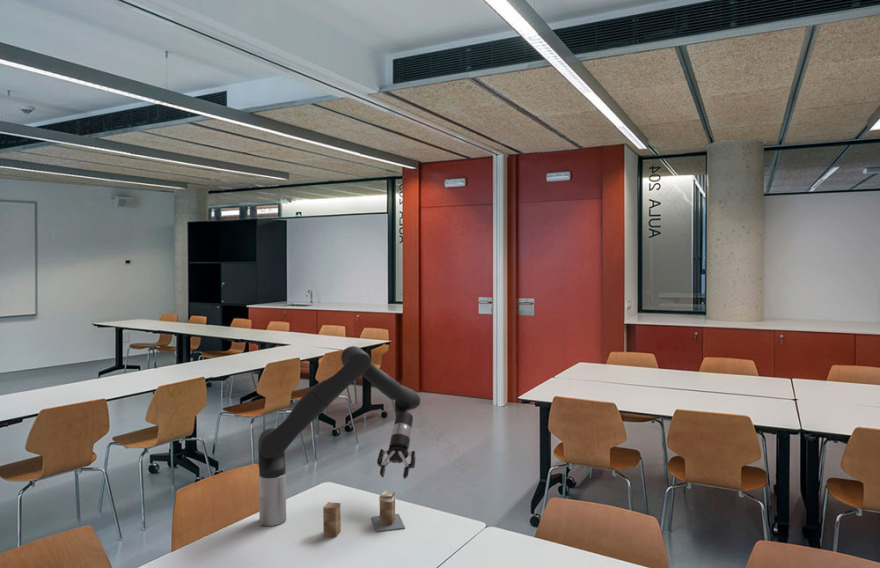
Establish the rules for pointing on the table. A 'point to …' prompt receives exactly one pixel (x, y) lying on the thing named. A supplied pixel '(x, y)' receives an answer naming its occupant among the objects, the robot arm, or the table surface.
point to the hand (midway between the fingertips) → (393, 477)
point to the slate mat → (382, 527)
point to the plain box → (332, 519)
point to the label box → (387, 508)
